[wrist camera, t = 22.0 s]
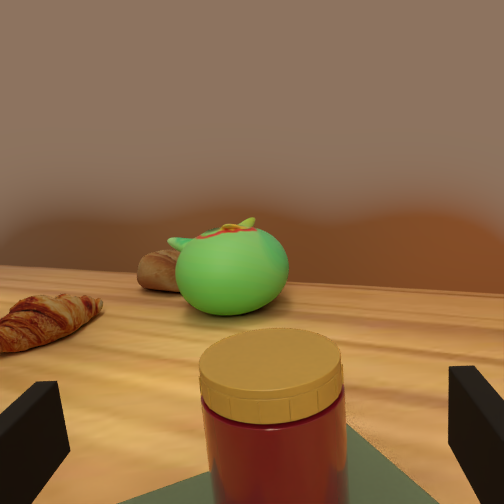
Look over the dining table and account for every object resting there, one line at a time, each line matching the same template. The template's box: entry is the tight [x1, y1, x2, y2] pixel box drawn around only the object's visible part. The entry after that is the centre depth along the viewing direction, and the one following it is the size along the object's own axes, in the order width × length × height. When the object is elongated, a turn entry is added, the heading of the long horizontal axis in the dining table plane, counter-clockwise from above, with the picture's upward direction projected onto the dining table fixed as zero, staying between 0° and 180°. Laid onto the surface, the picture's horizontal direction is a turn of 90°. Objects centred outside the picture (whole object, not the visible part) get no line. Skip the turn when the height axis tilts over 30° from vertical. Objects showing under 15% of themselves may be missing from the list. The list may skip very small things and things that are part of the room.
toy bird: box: [167, 218, 289, 315], centre depth 72 cm, size 18×17×15 cm
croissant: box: [0, 294, 103, 353], centre depth 69 cm, size 21×10×8 cm, turn 151°
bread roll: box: [137, 250, 181, 292], centre depth 88 cm, size 10×15×8 cm, turn 57°
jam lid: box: [199, 328, 344, 424], centre depth 25 cm, size 8×8×2 cm
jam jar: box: [201, 384, 350, 504], centre depth 26 cm, size 8×8×11 cm
